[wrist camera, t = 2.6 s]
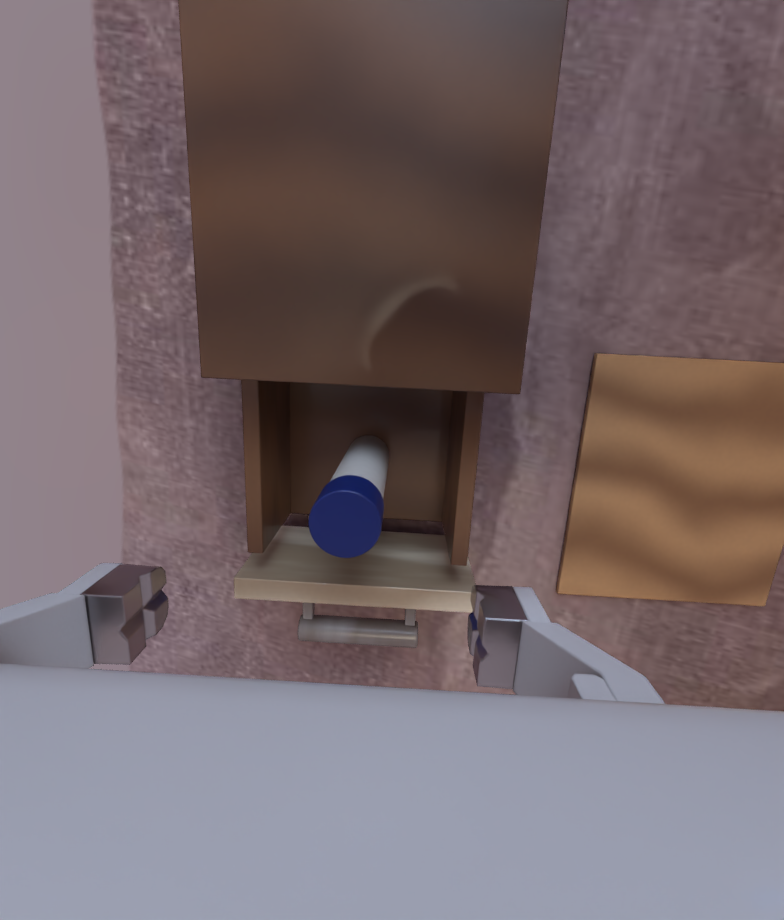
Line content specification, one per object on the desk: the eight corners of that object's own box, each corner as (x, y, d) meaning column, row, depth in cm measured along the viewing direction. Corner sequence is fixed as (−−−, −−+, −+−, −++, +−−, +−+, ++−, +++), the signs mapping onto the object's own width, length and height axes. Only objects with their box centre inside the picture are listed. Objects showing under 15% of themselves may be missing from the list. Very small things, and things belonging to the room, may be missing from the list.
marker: (378, 425, 26) (359, 477, 15) (398, 465, 26) (394, 540, 16) (337, 445, 26) (294, 509, 16) (359, 484, 27) (330, 570, 16)
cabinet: (484, 379, 27) (520, 394, 18) (264, 367, 27) (200, 377, 19) (520, 30, 22) (588, -160, 14) (255, 19, 22) (166, -173, 14)
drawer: (454, 610, 30) (468, 685, 23) (274, 599, 30) (237, 670, 23) (486, 284, 24) (516, 261, 18) (267, 273, 25) (217, 247, 18)
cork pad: (594, 353, 26) (596, 353, 26) (831, 365, 26) (838, 365, 25) (555, 590, 30) (557, 593, 30) (760, 603, 30) (765, 606, 30)
